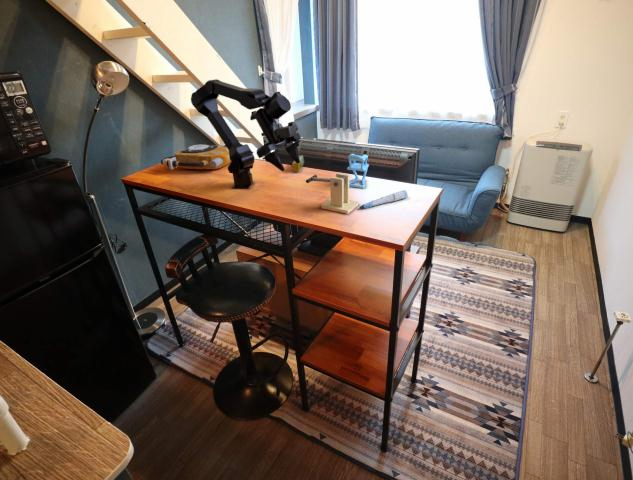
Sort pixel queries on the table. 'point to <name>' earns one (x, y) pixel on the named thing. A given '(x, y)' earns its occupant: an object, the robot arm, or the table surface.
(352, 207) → the bracket
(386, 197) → the pen
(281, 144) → the robot arm
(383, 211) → the table surface
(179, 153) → the device
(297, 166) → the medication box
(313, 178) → the lever
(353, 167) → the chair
